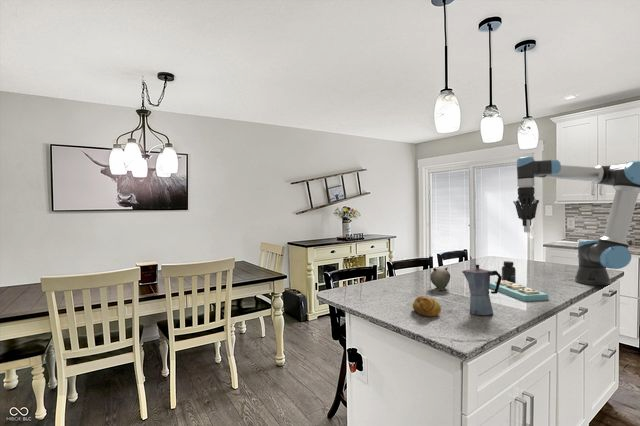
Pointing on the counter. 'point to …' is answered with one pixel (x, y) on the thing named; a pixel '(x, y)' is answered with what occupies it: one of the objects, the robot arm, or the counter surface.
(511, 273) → the supplement bottle
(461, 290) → the counter surface
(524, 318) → the counter surface
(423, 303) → the bread roll
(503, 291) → the teal puzzle board
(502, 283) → the key one
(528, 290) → the key three
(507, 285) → the key two
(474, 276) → the moka pot
